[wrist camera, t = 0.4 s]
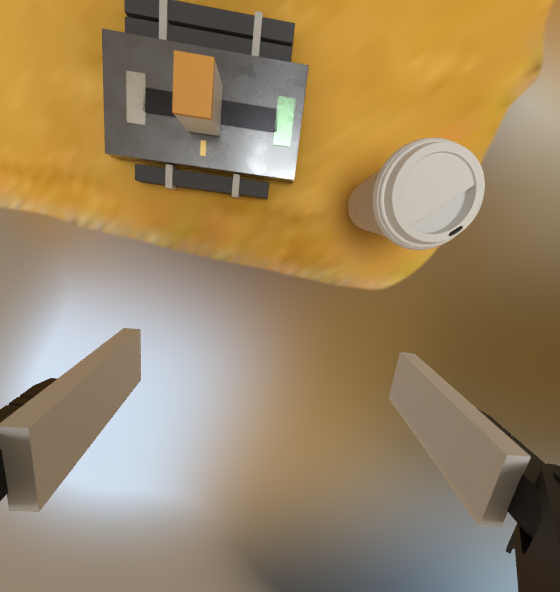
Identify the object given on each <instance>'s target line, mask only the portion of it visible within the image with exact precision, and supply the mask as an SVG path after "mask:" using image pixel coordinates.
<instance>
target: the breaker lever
mask: <svg viewBox="0 0 560 592" xmlns="http://www.w3.org/2000/svg"><path fill="white" fill-rule="evenodd" d="M222 90H223V86H222V82H221V79H220V75H219V72H218V69H217V65H216V62H215V58H214V57H210V56H205V55H199V54H193V53H188V52H182V51H176V50H174V63H173V102H172V113H173V114H174V115H175V116H176V117H177V119H178V120H179V121H180V122H181V124H182V125H183V126H184V127H185V129H186V130H187V131H189V132H195V133H202V134H208V135H215V136H220V122H221V106H222Z"/></svg>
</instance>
